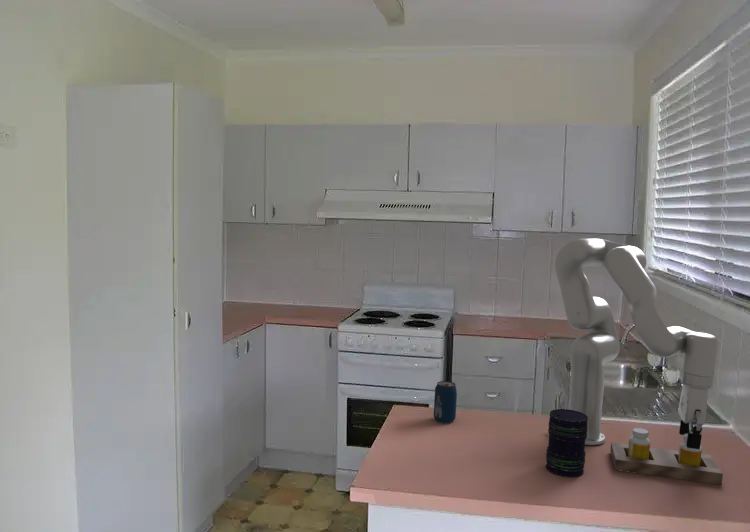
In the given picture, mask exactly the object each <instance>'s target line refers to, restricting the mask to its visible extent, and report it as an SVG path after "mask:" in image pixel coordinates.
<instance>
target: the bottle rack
mask: <svg viewBox="0 0 750 532" xmlns="http://www.w3.org/2000/svg"><path fill="white" fill-rule="evenodd" d="M628 446H629V443H628V444H626V443H618V442H610V452H611V454H610V457H611V456H612V457H611V461H612V460H613V461H612V465H613V464H614V465H613V469H614V468H615V469H614V471H617V470H622V471H621V472H624V471H629V472H628V473H631V472H636V473H635V474H639V473H641V474H640V475H646V474H648V475H647V476H654V475H656V476H655V477H661V476H663V477H662V478H668V477H669V479H677V480H683V479H685V481H690V480H691V481H692V482H697V483H698V482H699V483H706V484H713V485H721V486H722V485H723V478H724V477H723V476H724V473H723V471H722V470H721V469H720V466H719V465H718V464H717V462H716V461H715V459H714V458H713V456H712V455H711V454H708V453H707V454H705V453H704V454H703V453H701V463H700V466H693V465H685V464H678V459H679V450H673V449H666V448H659V447H658V448H657V447H651V446H650V450H649V460H647V459H639V458H632V457H628ZM610 452H609V453H610Z"/></svg>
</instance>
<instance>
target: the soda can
mask: <svg viewBox="0 0 750 532" xmlns="http://www.w3.org/2000/svg"><path fill="white" fill-rule="evenodd" d="M457 395H458V388H457V386H456V383H455V382H453V381H448V380H447V381H446V380H440V381H437V383H436V386H435V387H434V399H433V400H434V401H433V403H434V404H433V418H434V420H435V421H436V422H437V423H440V424H446V425H447V424H452V423H454V421H455V419H456V418H457V417H456V416H457V399H458V398H457Z"/></svg>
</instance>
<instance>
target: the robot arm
mask: <svg viewBox="0 0 750 532" xmlns="http://www.w3.org/2000/svg"><path fill="white" fill-rule="evenodd" d="M554 261H555V262H554V267H555V270H554V271H555V273H556V278H557V281H558V285H559V288H560V294H561V298H562V302H563V306H564V310H565V316H566V319H567V322H568V324H569V326H570V327H571V328H572V329H573V330H577V331H586V334H583V335H580V336H579V337H577V338H575V340H574V341H572V344H571V345H570V349H569V360H570V383H569V385H570V387H569V401H568V410H574V411H578V412H581V413H584V414H585V415H587V416H588V421H587V423H588V425H587V427H588V430H587V438H586V440H585V446H586V445H587V446H597V445H602V444H604V443H605V442H606V436H605V435H604V433H601V427H602V426H601V423H602V415H603V404H604V403H603V401H604V392H605V391H604V387H605V374H604V370H603V364H606V363H610V362H612V361H613V360H615V359H616V358H617V357H618V356H619V354H620V347H621V346H620V345H621V344H620V339H619V335H618V330H617V326H616V323H615V318H614V313H613V311H612V309H611V307H610V305H609V303H608V302H607V301H606V300H605V299H604V298H601V297H599V296H593V293H592V290H591V285H590V282H589V279H588V277H587V276H586V274H585V272H584V269H585V268H591V267H599V268H603V269H606V272H607V273H608V274H609V276H610V278H611V279H612V280H613V282H614V283H615V285H616V286H617V288H618V289H619V291H620V293H621V294H622V296H623V298H624V299H625V300H626V302H627V304H628V306H629V312H630V315H631V320H632V323H633V325H634V328H635V330H636V331H637V334H638V335H639V336H640V338H641V340H642V341H643V343H644V344H645V346H646V347H647V348H648V350H649V352H651V353H652V354H654V355H655V356H657V357H659V358H671V357H673V356H676V355H684V357H683V362H682V363H683V364H682V373H681V378H680V379H681V380H680V383H681V384H682V388H681V393H680V397H679V404H678V408H677V409H678V410H677V413H678V415H679V417H680V418H681V420H680V421H679V431H678V434H679V435H681V436H684V434H688V437H687V444H686V446H687V448H693V449H700V445H701V443H702V436H703V425H705V422H706V415H707V408H708V398H709V396H708V395H709V390H711V389H713V384H714V378H715V369H716V363H717V356H718V348H719V340H718V337H717V336H715V335H714V334H712V333H711V334H710V333H706V332H698V331H694V330H691V329H688V328H685V327H682V326H679V325H677V326H676V325H673V326H668V327H667V326H666V324H665V323H664V322H663V320H662V318H661V317H660V314H659V312H658V310H657V307H656V299H657V295H658V289H657V287H656V286H655V283H653V281H652V279H651V278H650V277H649V275H648V274H647V272H646V271H645V268H646V266H647V257H646V255H645V253H644V252H643V251H642V250H641V249H640V248H638V247H637V246H633V245H628V244H624V243H619V242H616V241H610V240H607V239H602V238H577V239H572V240H570V241H568V242H566V243H565V244H563V246H561V247H560V249H559V250H558V252H557V254H556V256H555V259H554Z"/></svg>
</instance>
